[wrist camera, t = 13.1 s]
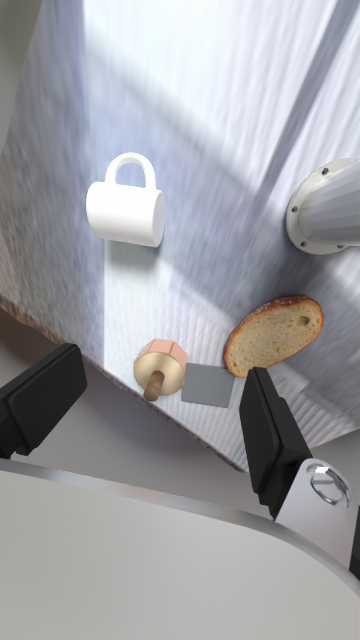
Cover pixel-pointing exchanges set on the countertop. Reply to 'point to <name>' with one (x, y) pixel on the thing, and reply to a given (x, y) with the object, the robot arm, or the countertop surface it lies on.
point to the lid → (158, 375)
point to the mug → (127, 206)
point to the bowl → (166, 351)
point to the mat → (207, 385)
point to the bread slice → (273, 334)
